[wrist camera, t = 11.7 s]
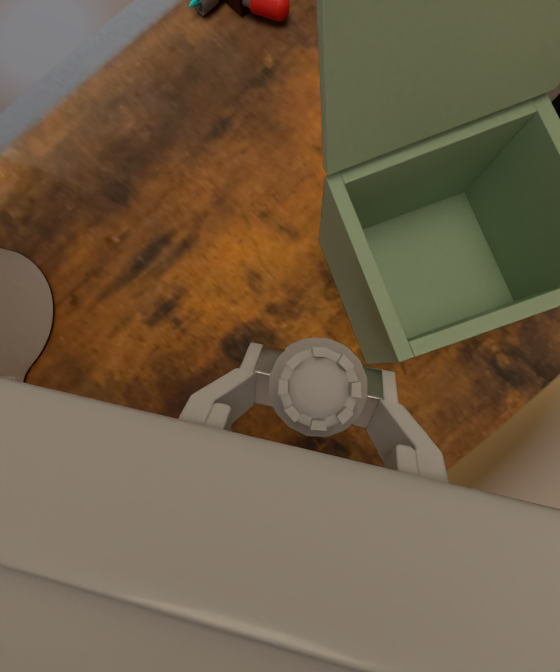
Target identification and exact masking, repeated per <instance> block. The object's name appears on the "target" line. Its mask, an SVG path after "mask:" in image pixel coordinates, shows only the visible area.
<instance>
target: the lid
mask: <svg viewBox="0 0 560 672" xmlns="http://www.w3.org/2000/svg"><path fill="white" fill-rule="evenodd" d="M317 23H318V47H319V71H320V95H321V119H322V143H323V167H324V169H325V171H326V173H327V175H330V174H332V173H335V172H338V171H340V170H343V169H346V168H348V167H351V166H353V165H356V164H359V163H361V162H364V161H367V160H369V159H372V158H375V157H377V156H380V155H382V154H385V153H388V152H390V151H393V150H396V149H398V148H401V147H404V146H406V145H409V144H412V143H414V142H417V141H419V140H422V139H425V138H427V137H430V136H433V135H435V134H438V133H441V132H443V131H446V130H449V129H451V128H454V127H456V126H459V125H462V124H464V123H467V122H470V121H472V120H475V119H478V118H480V117H483V116H486V115H488V114H491V113H493V112H496V111H499V110H501V109H504V108H507V107H509V106H512V105H515V104H517V103H520V102H522V101H525V100H528V99H530V98H533V97H536V96H538V95H541V94H544V93H546V92H549V91H552V90H554V89H555V88H556V87H557V85H558V84H559V82H560V0H317Z"/></svg>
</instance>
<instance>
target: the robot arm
mask: <svg viewBox="0 0 560 672" xmlns="http://www.w3.org/2000/svg"><path fill="white" fill-rule="evenodd" d="M52 320H53V301H52V295H51V291H50V288H49V285H48V283H47V281H46V279H45V277H44V275H43V274H42V272H41V271H40V270H39V268H38V267H37V266H36V265H35V264H34V263H33V262H32V261H30V260H29V259H28V258H26V257H25V256H23V255H21V254H19V253H16V252H14V251H10V250H6V249H2V248H0V672H560V509H556V508H552V507H548V506H544V505H540V504H535V503H531V502H526V501H523V500H518V499H514V498H510V497H505V496H501V495H497V494H493V493H489V492H484V491H480V490H476V489H472V488H468V487H463V486H459V485H455V484H451V483H449V482H448V478H447V473H446V468H445V463H444V458H443V454H442V452H441V451H440V450H439V448H438V447H437V446H436V445H435V444H434V442H433V441H432V440H431V439H430V438H429V436H428V435H427V434H426V433H425V431H424V430H423V429H422V428H421V427H420V425H419V424H418V423H417V422H416V421H415V419H414V418H413V417H412V416H411V415H410V413H409V412H408V411H407V410H406V408H405V407H404V406H403V405H402V404H398V395H397V387H396V378H395V373H394V372H392V371H387V370H382V369H381V370H380V369H376V368H371V367H366V366H363V369H364V371H365V374H366V376H367V400H366V402H365V405H364V407H363V409H362V412H361V414H360V416H359V417H358V418H357V419H356V420H355V421H354V422H353V423H352V424H351V425H353V426H357V427H361V428H365V429H366V431H367V433H368V435H369V437H370V438H371V440H372V442H373V444H374V446H375V448H376V449H377V451H378V453H379V455H380V457H381V458H382V460H383V462H384V464H385V465H384V467H379V466H375V465H371V464H366V463H362V462H358V461H354V460H349V459H345V458H341V457H337V456H333V455H328V454H324V453H320V452H316V451H311V450H307V449H303V448H299V447H295V446H290V445H286V444H282V443H278V442H273V441H269V440H265V439H261V438H257V437H252V436H248V435H244V434H240V433H235V432H231V424H232V423H233V422H235V421H236V420H237V419H238V418H239V417H240V416H242V415H243V414H244V413H245V412H246V411H247V410H249V409H250V408H251V407H252V406H253V405H254V404H259V405H264V406H269V407H274V406H273V404H272V401H271V398H270V395H269V383H270V374H271V371H272V369H273V367H274V365H275V362H276V360H277V358H278V357H279V356H280V355H281V354H282V353H283V352H284V351H285V350H284V349H280V348H276V347H272V346H267V345H262V344H258V343H253V342H252V343H251V344H250V345H249V348H248V350H247V352H246V355H245V357H244V359H243V362H242V364H241V366H240V369H237V368H236V369H234V370H232V371H231V372H229V373H227V374H226V375H224V376H222V377H221V378H219V379H217V380H216V381H214V382H212V383H211V384H209V385H207V386H206V387H204V388H202V389H201V390H199V391H197V392H196V393H194V394H192V395H191V396H190V398H189V400H188V402H187V403H186V405H185V407H184V409H183V411H182V413H181V414H180V416H179V418H178V419H176V418H172V417H168V416H164V415H159V414H155V413H151V412H147V411H142V410H138V409H134V408H130V407H125V406H121V405H117V404H113V403H108V402H104V401H100V400H96V399H92V398H87V397H83V396H79V395H75V394H70V393H66V392H62V391H58V390H53V389H49V388H45V387H41V386H37V385H32V384H28V383H24V382H23V381H24V377H25V374H26V372H27V371H28V369H29V368H30V366H31V365H32V364H33V362H34V361H35V360H36V358H37V357H38V356H39V354H40V353H41V351H42V349H43V348H44V346H45V344H46V341H47V339H48V337H49V334H50V330H51V326H52Z"/></svg>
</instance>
